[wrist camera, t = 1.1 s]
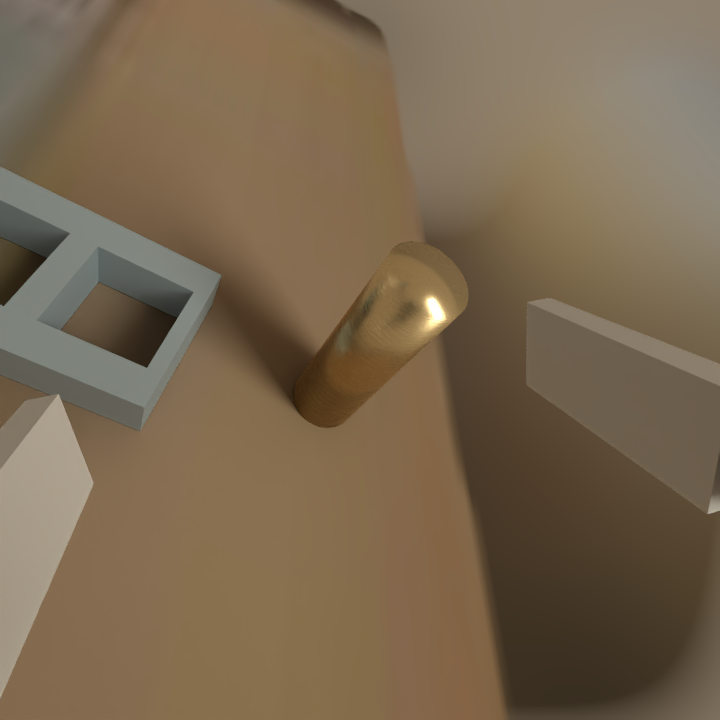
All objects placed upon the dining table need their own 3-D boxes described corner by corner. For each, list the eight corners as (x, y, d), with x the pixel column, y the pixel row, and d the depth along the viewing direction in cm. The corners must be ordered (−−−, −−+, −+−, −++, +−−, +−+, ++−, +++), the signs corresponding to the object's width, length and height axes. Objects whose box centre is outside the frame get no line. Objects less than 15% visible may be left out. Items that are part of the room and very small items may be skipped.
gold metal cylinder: (284, 411, 32) (377, 290, 21) (304, 359, 35) (397, 226, 24) (343, 437, 33) (462, 334, 22) (359, 385, 36) (472, 268, 25)
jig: (-150, 314, 25) (-182, 273, 22) (-16, 197, 31) (-28, 153, 28) (140, 431, 28) (144, 407, 25) (212, 305, 34) (221, 275, 31)
